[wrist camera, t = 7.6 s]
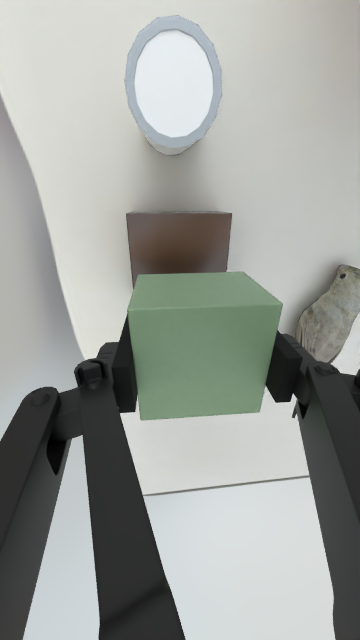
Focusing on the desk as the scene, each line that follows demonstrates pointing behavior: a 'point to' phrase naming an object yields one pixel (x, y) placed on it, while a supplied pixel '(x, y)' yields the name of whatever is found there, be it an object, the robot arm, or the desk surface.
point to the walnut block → (178, 242)
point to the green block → (201, 343)
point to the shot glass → (173, 83)
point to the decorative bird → (331, 316)
